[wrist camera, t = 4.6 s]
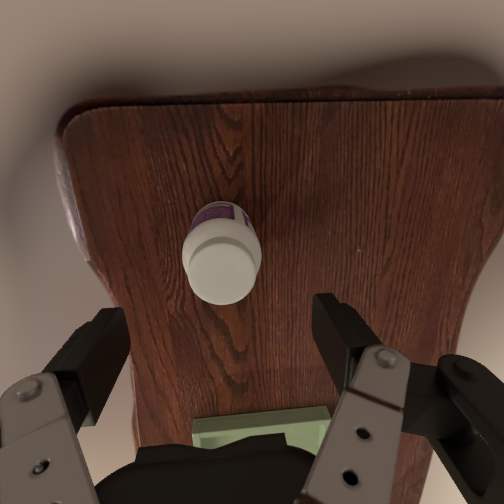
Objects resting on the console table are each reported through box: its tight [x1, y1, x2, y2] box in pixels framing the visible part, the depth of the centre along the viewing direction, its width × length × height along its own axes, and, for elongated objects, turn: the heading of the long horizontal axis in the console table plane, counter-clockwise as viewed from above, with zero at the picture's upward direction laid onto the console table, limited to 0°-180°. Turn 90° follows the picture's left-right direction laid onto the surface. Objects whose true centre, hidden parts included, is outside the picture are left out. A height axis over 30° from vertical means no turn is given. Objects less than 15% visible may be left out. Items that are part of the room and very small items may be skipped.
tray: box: [192, 405, 331, 455], centre depth 35 cm, size 16×14×2 cm
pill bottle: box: [182, 201, 261, 305], centre depth 21 cm, size 5×5×10 cm
